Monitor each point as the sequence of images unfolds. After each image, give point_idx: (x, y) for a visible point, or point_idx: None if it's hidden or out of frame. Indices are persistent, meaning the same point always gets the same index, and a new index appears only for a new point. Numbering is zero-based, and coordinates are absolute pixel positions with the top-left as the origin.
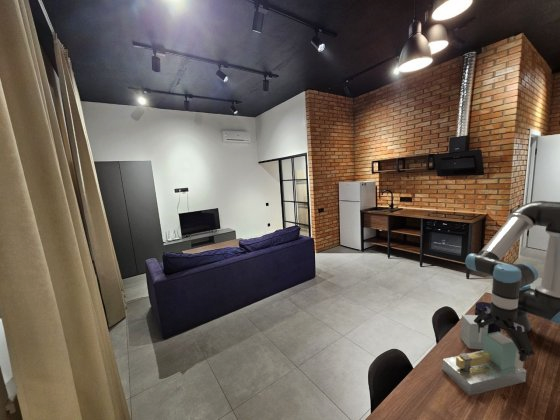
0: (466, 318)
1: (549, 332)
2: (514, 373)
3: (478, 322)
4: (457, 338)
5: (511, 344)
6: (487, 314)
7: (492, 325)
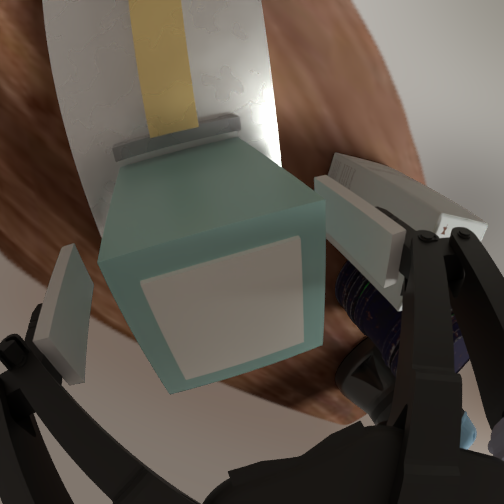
0: (470, 226)
1: (318, 409)
2: (97, 224)
3: (448, 253)
4: (390, 151)
5: (149, 352)
6: (483, 389)
7: (387, 322)
